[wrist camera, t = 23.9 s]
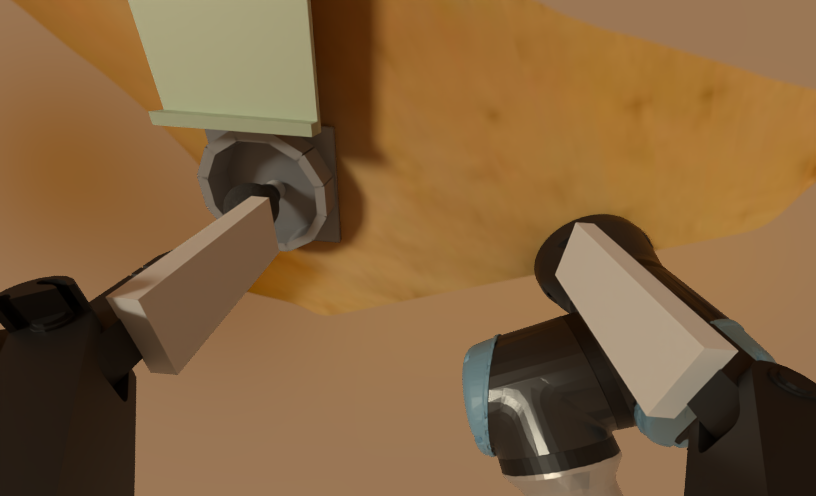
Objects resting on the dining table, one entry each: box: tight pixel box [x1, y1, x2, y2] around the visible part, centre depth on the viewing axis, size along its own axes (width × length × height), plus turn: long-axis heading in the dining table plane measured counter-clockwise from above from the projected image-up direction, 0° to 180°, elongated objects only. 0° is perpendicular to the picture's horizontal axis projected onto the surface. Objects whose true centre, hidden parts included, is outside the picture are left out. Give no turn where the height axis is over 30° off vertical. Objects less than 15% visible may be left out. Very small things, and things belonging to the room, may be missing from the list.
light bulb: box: [223, 180, 286, 223], centre depth 35 cm, size 6×6×10 cm
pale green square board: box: [128, 0, 321, 137], centre depth 26 cm, size 16×16×3 cm
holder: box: [197, 126, 341, 251], centre depth 38 cm, size 16×16×5 cm
